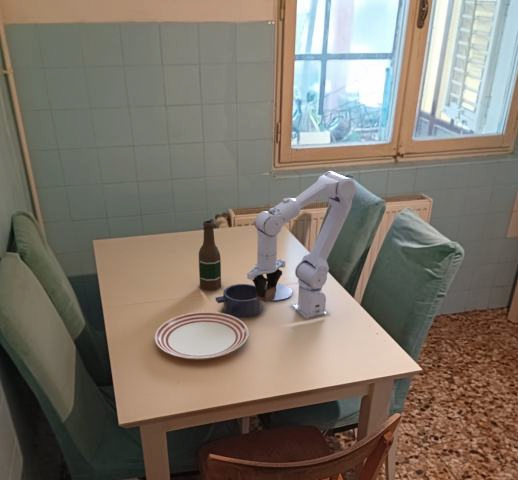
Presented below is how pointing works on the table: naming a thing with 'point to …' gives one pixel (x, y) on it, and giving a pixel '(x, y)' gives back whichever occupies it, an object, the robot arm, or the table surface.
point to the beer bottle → (209, 260)
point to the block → (268, 293)
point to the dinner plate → (201, 335)
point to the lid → (282, 292)
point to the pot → (241, 301)
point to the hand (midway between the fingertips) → (266, 294)
